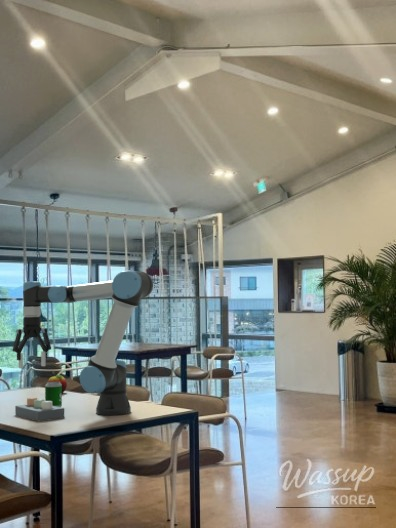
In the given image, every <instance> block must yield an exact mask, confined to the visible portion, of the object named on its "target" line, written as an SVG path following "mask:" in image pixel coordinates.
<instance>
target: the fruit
mask: <svg viewBox="0 0 396 528" xmlns="http://www.w3.org/2000/svg"><path fill="white" fill-rule="evenodd" d="M66 380H67V379H66V378H65V377H64V376H63V375H60V374H57V375H54V376H51V377H49V379H48V380H47V383H48V382H60V383H61V384H62V394H63V393H65V391H66V390H67V386H68V385H67V381H66ZM47 383H46V384H47Z"/></svg>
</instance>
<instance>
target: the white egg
mask: <svg viewBox="0 0 396 528" xmlns="http://www.w3.org/2000/svg"><path fill="white" fill-rule="evenodd" d="M50 409H52V401H43V402H42V410H50Z"/></svg>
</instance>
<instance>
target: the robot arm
mask: <svg viewBox="0 0 396 528" xmlns="http://www.w3.org/2000/svg"><path fill="white" fill-rule="evenodd" d="M22 289H23V291H22V294H23V296H22V297H23V305H22V306H23V310H22V311H23V313H22V314H23V320H22V321H23V324H22V325H23V327H22V328H17V329H16V335H15V340H14V342H13V346H12V352H15V353H16V360H17V361H18V368H19V369H23V368H24V352H22V351H23V350H24V347H25V345H26V343H27V342H28V340H29V339H30V338H35V339H36V341H37V343H38V344H39V346H40V348H41V349H42V351H40V353H41V355H40V358H41V360H40V363H41V364H40V366H41V367H46V366H47V365H46V359H48V352H49V351H50V350H52V345H51V342H50V338H49V335H48V328H47V327H43V328H42V327H41V325H42V318H41V315H42V304H49V303H53V304H63V303H64V304H65V303H66V304H71V303H77V302H83V301H84V302H85V301H93V300H100V299H101V300H103V299H104V300H105V299H110V298H111V299H112V301H113V303H112V307H111V310H110V312H109V315H108V319H107V321H106V324H105V327H104V330H103V332H102V335H101V338H100V341H99V344H98V347H97V349H96V352H95V354H94V355H92V356H91V357H90V359H89V361H88V363H87V366H84V368H82V370H81V371H80V374H79V383H80V385H81V387H82V389H83V390H84V391H85V392H87V393H88V394H99V397H98V398H99V399H98V400H97V401H98V402H97V404H96V408H95V413H96V415H101V416H116V415H117V416H119V415H121V416H122V415H127V414H130V413H131V411H132V410H131V409H132V408H131V404H130V402H129V398H128V394H127V362H126V361H125V360H121V359H120V360H119V359H118V360H117V359H116V358H117V356H118V353H119V351H120V347H121V344H122V342H123V338H124V337H125V336H124V335H125V333H126V331H127V328H128V325H129V323H130V319H131V316H132V314H133V311H134V309H136V308H139V304H140V301H141V299H145V298H147V297H148V296H150V294H151V293H152V291H153V289H154V281H153V278H152V277H151V276H150V275H149V274H148V273H147V272H144V271H138V270H137V271H136V270H132V269H130V270H129V269H128V270H123V271H120V272H118V273H117V274H116V275H115V276H114V278H113V280H107V281H99V282H91V283H83V284H82V283H81V284H75V285H64V286H63V285H59V284H58V285H42V284H41V282H40V281H26V282H24V283H23V288H22ZM40 333H42V335H41V334H40ZM22 334H23V336H22ZM42 337H43V338H42Z"/></svg>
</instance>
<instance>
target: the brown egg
mask: <svg viewBox="0 0 396 528" xmlns="http://www.w3.org/2000/svg"><path fill="white" fill-rule="evenodd" d="M34 400H38V398H37V397H28V398H27V399H26V405H27V406H29V407H30V406H34Z"/></svg>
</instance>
